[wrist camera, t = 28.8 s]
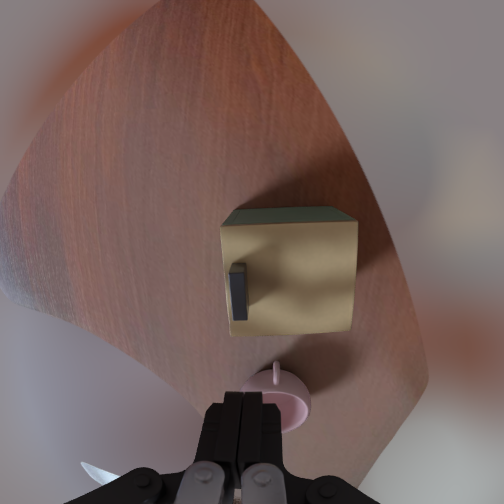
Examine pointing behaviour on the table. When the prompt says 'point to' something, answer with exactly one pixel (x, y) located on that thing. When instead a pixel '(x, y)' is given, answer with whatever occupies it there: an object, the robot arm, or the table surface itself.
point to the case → (286, 215)
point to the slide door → (290, 276)
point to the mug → (282, 395)
